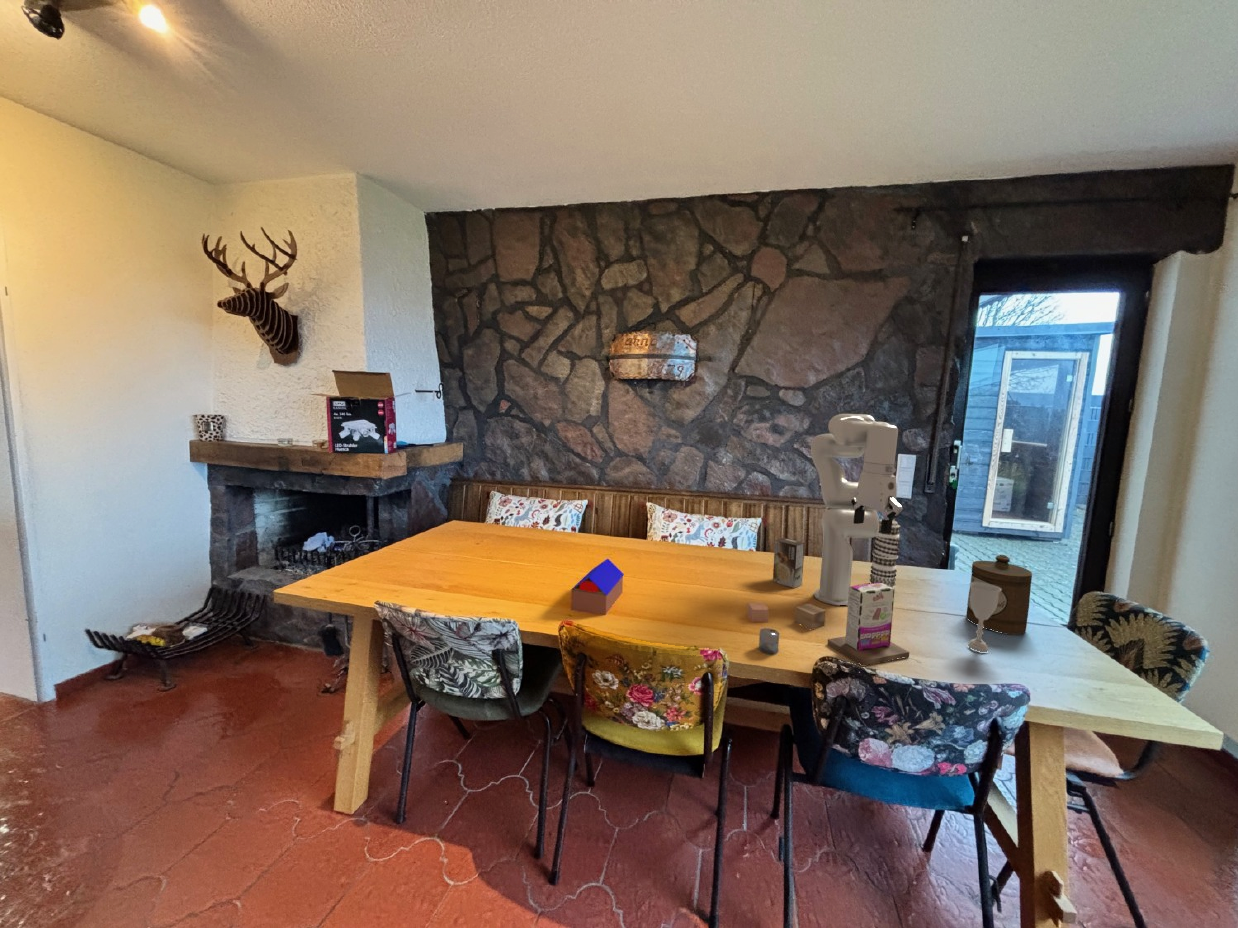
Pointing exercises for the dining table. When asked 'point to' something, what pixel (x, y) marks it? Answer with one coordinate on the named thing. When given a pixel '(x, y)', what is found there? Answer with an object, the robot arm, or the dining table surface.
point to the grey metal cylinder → (769, 641)
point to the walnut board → (868, 652)
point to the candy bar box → (869, 616)
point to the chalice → (982, 609)
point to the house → (598, 589)
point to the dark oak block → (810, 616)
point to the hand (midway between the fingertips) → (871, 528)
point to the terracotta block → (757, 612)
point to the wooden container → (1004, 594)
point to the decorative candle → (885, 556)
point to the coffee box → (788, 562)
